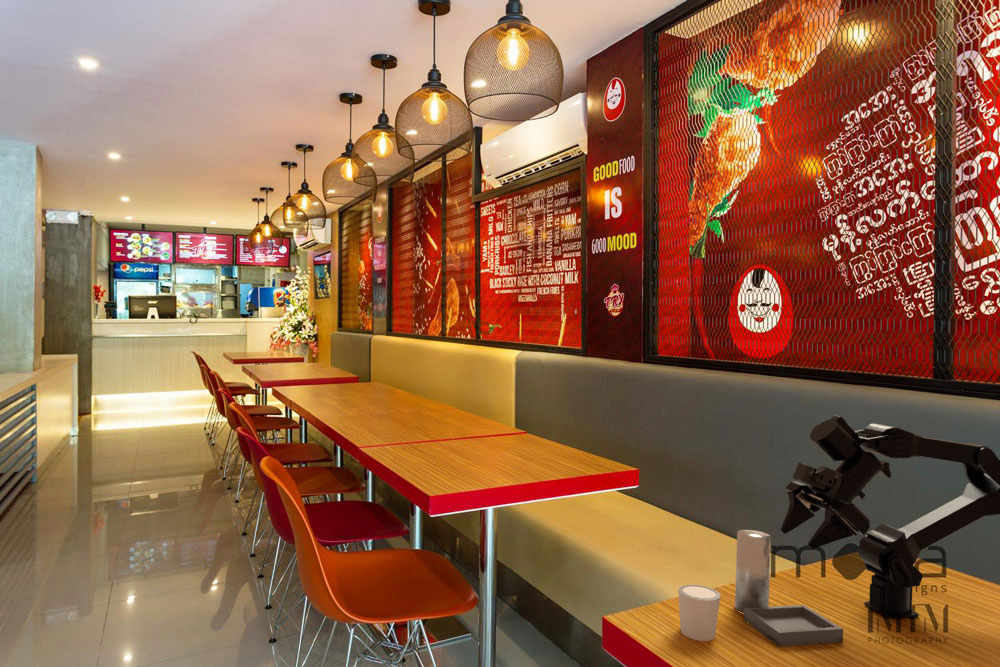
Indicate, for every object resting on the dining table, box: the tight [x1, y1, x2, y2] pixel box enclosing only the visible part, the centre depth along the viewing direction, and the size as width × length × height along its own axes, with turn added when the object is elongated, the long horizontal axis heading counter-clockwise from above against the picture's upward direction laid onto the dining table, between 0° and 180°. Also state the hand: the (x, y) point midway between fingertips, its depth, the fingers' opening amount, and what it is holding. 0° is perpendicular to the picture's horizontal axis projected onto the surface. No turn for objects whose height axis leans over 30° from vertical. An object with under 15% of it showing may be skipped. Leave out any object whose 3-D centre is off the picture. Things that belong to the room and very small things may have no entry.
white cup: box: [677, 584, 721, 642], centre depth 108 cm, size 7×7×7 cm
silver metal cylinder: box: [734, 529, 772, 614], centre depth 119 cm, size 6×6×14 cm
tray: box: [743, 604, 844, 647], centre depth 111 cm, size 12×10×2 cm
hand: (795, 539), depth 120 cm, fingers open, 9 cm apart
